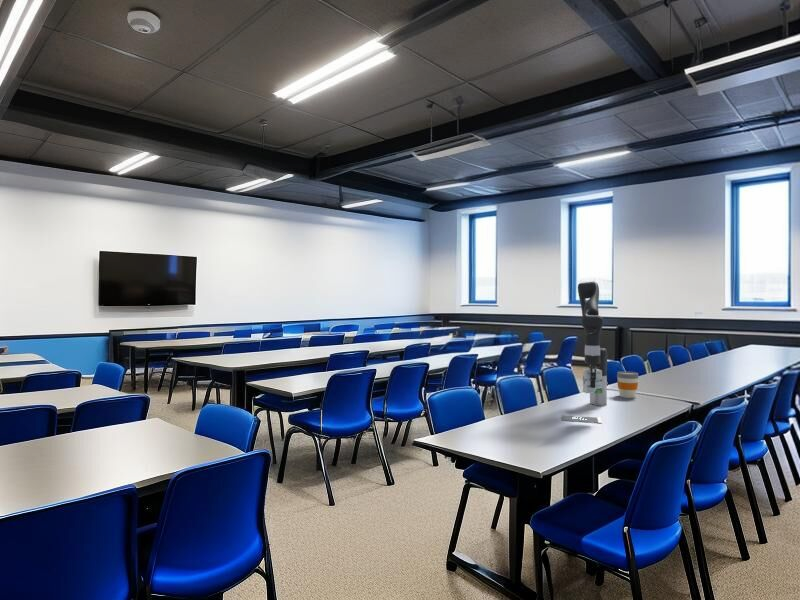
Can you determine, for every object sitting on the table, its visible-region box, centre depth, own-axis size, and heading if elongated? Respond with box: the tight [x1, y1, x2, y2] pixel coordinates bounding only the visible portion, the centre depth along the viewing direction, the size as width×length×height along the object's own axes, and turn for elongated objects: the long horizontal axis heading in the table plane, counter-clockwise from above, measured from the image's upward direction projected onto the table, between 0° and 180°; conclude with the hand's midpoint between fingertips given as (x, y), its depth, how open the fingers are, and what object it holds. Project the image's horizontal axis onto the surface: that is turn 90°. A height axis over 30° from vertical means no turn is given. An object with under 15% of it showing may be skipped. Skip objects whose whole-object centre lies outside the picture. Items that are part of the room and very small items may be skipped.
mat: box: [561, 414, 603, 424], centre depth 262 cm, size 11×19×1 cm, turn 72°
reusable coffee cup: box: [616, 370, 639, 399], centre depth 321 cm, size 12×13×15 cm
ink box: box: [582, 368, 602, 394], centre depth 260 cm, size 9×5×12 cm, turn 86°
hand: (592, 386), depth 260 cm, fingers closed on ink box, 5 cm apart
